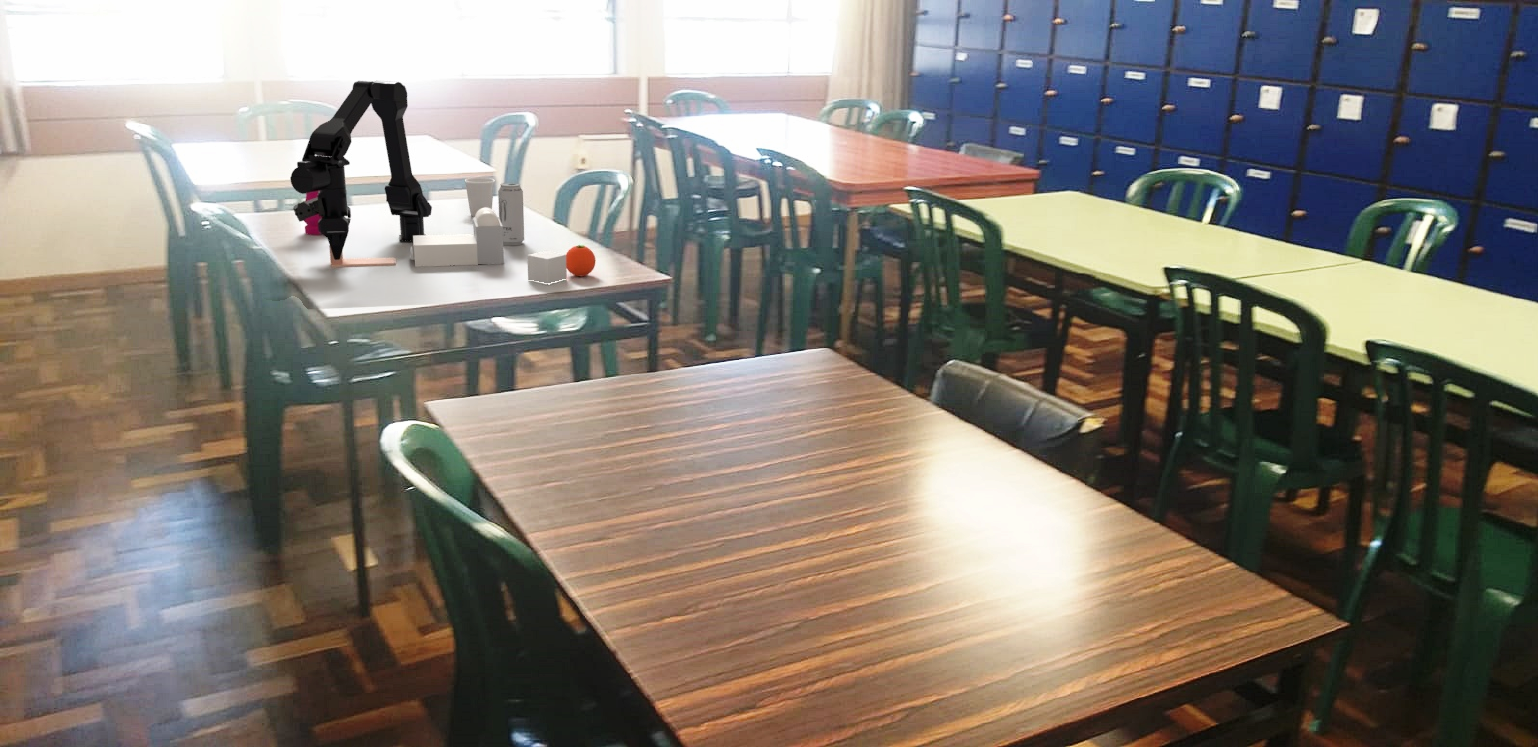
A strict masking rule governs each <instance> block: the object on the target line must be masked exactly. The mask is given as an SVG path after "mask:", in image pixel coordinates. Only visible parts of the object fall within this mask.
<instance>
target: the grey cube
mask: <svg viewBox="0 0 1538 747" xmlns="http://www.w3.org/2000/svg"><path fill="white" fill-rule="evenodd" d="M567 271H568V269H567V268H566V253H560V252H559V253H558V252H555V251H549V250H544V251H539V252H535V253H531V254H527V281H528V280H534V281H539V282H544V283H551V282H555V281H559V280H562V279H566V278H567V277H568V276H567ZM567 279H568V278H567Z"/></svg>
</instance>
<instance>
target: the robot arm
mask: <svg viewBox="0 0 1538 747" xmlns="http://www.w3.org/2000/svg"><path fill="white" fill-rule="evenodd" d="M370 106H371V107H372V110H373V111H374V112H375V114H376V115H377V116H378V117H379V118H380V121H381V123H382V129H383V136H384V137H383V138H384V143H385V148H386V149H385V150H386V154H387V160H388V165H389V171H390V179H389V182H388V184H387V185H385V186H384V193H385V195H386V196H385V197H386V200H385V201H386V203H388V206H389V207H388V208H389V210H390V213H391V216H399V225H400V226H399V228H400V229H399V230H400V234H399V235H398V239H399V242H400V243H401V242H413V236H416V235H427V234H425V224H424V218H428V217H429V216H431V215H432V210H433V209H432V208H433V206H432V205H431V203H430V202H429V201H428V199H426V197H425V196H424V193H423V190H422V185H421V183H420V182H419V181H418V180H417V178H416V177H415V176H414V175H413V172H412V171H413V170H412V166H411V165H412V164H411V161H410V153H409V148H408V142H407V136H406V130H405V123H404V116H405V113H406V111H407V108H408V92H407V88H406V86H405V85H404V84H403V83H401V82H399V81H391V80H390V81H388V80H387V81H386V80H374V81H371V80H357V81H355V82H354V83H353V84H352V89H351V91H350V92H349V94H348V95H347V96H346V98H345V100H343V102H342V103H341V105H340V107H338V108H337V111H336V112H335V113H334V114H333V117H331V118H330V120H328V121H326V122H324V123H322V124H320V125H319V126H318V127H317V128H316V129H314V130H313V131H312V133H311V134H310V137H309V140H308V142H307V145H306V148H305V151H304V154H303V157H302V160H301V161H297V162H296V165H297V167H296V168H294V169H293V170H292V172H291V175H290V183H291V186H292V188H293V190H295V191H296V192H297V193H299V194H302V195H306V193H310V192H315V191H319V192H318V194H317V198H314V199H311V200H308V201H305V200H303V201H301V202H298V203H297V204H295V205H294V206H293V208H292V210H293V212H294V215H295V216H296V218H297V220H298V222H304V221H303V220H305V219H306V218H309V217H312V216H314V215H317V214H319V217H322V218H321V219H320V220H319V221H318V230H319V232H320V234H322V235H321V236H324V237H325V238H326V239H327V241H328V244H329V245H330V247H331V250H332V253H333V257H334V259H335V260H339V259H340V257H341V253H342V252H343V250H344V246H345V243H346V241H347V238H348V234H349V229H350V228H349V226H350V223H351V217H352V214H351V213H352V212H351V207H349V205H348V196H347V195H348V192H347V184H346V175H345V167H346V166H349V165H350V161H349V160H348V159H346V158H345V155H346V154H347V152H348V151H349V148H350V147H351V143H352V136H351V134H352V132H353V130H354V129H355V128H356V126H357V124H359V121H361V119H362V117H363V116H364V114H365V113H366V111H367V110H368V108H369V107H370Z"/></svg>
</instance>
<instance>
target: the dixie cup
mask: <svg viewBox="0 0 1538 747" xmlns="http://www.w3.org/2000/svg"><path fill="white" fill-rule="evenodd" d="M495 182H496V180H495V179H494V178H490V177H478V176H477V177H469V178H467V177H466V178H465V179H464V183H465V189H466V194H467V201H468V206H469V212H470V213H469V214H470V216H471V217H473V218H475V216H476V213H477V211H478V210H480V209H481V208H485V207H486V208H490V209H492V210H493V201H494V200H493V199H494V190H495V189H494V188H495Z"/></svg>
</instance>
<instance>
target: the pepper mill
mask: <svg viewBox="0 0 1538 747" xmlns="http://www.w3.org/2000/svg"><path fill="white" fill-rule="evenodd" d="M318 192H319V191H315V192H310V193H306V194H305V200H304V201H308V200H311V199H314V198H317V194H318ZM321 218H322V217H319V214H317V215H314V216H312V217H309V218H306V219H305V220H303V221H302V222H304V223H305V224H306V225H305V226H304V233H305V234H306V235H310V236H323V235H322V234H320V232H319V230H318V221H319V220H320V219H321Z"/></svg>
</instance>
